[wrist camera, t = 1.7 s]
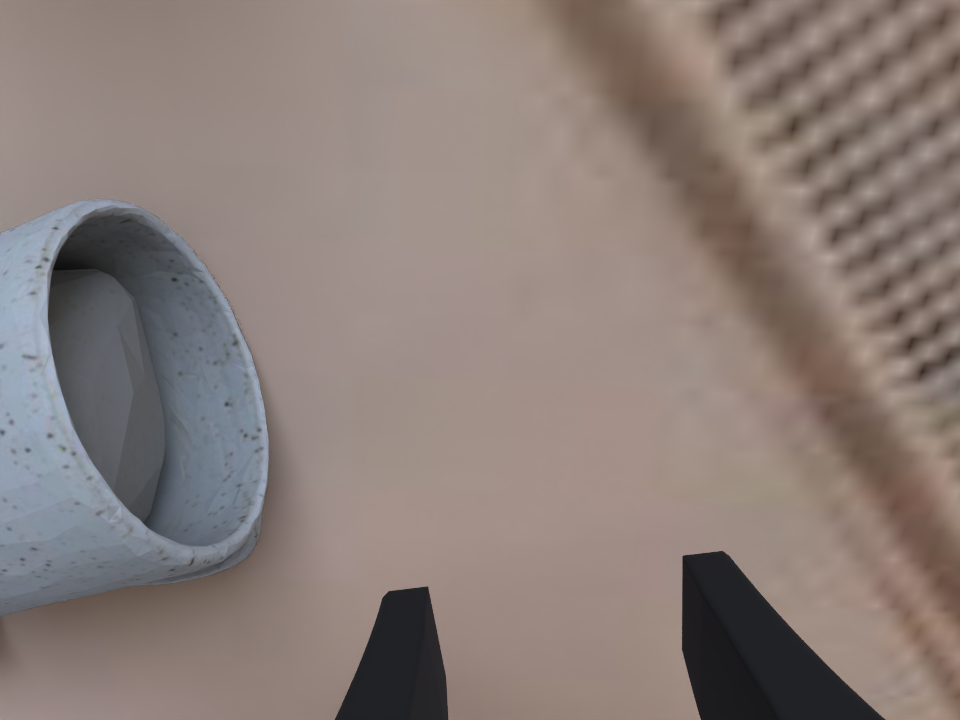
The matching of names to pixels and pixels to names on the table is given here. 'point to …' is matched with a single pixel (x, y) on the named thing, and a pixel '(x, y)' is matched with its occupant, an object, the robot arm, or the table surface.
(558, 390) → the table surface
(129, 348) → the ceramic mug
